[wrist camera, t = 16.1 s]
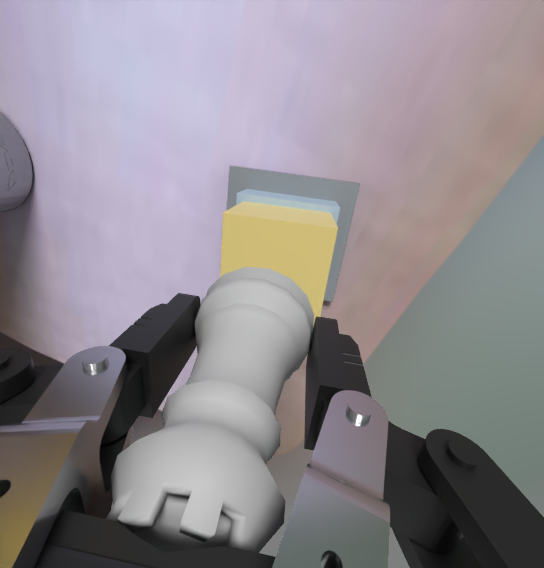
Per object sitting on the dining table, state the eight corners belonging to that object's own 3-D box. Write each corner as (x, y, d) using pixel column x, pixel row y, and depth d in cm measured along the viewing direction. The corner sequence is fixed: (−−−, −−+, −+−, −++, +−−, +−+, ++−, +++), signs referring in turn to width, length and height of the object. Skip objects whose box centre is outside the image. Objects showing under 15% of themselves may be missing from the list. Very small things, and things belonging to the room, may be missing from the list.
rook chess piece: (272, 376, 13) (222, 659, 6) (187, 321, 12) (5, 555, 5) (338, 306, 11) (392, 581, 4) (243, 238, 11) (91, 409, 3)
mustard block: (237, 281, 22) (218, 312, 17) (243, 201, 20) (223, 212, 15) (315, 293, 22) (317, 328, 17) (331, 212, 19) (338, 228, 15)
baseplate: (225, 280, 27) (210, 300, 23) (232, 165, 23) (216, 166, 19) (331, 298, 26) (335, 321, 22) (358, 183, 22) (369, 187, 18)
